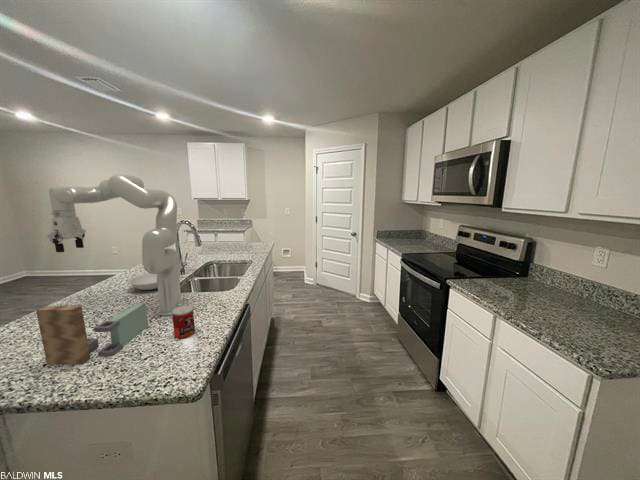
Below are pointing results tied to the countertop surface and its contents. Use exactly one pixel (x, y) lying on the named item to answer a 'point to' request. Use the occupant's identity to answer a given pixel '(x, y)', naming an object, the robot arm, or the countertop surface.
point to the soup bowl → (144, 281)
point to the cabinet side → (64, 335)
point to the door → (123, 328)
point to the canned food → (183, 322)
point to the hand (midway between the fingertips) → (70, 249)
